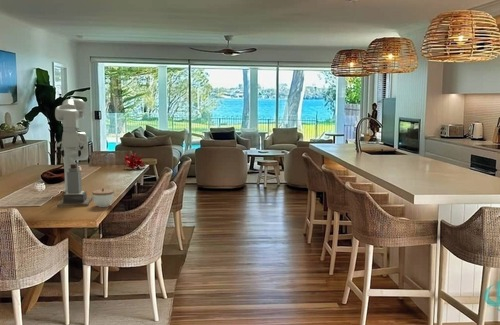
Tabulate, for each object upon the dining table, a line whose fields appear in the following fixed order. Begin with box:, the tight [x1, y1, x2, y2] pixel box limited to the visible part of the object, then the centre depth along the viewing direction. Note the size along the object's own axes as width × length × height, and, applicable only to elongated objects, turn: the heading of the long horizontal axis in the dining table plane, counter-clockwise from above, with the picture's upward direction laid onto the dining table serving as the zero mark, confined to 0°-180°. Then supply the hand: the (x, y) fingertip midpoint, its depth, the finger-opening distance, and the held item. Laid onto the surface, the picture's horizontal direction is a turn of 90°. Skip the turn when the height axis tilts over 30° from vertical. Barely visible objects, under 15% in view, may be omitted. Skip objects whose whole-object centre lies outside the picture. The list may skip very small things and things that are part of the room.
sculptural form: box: [122, 150, 147, 170], centre depth 453 cm, size 20×24×21 cm
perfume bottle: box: [67, 163, 83, 194], centre depth 304 cm, size 7×7×18 cm
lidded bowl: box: [92, 187, 114, 208], centre depth 298 cm, size 13×13×11 cm
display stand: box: [56, 190, 93, 208], centre depth 305 cm, size 20×18×7 cm
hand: (71, 156), depth 306 cm, fingers open, 9 cm apart
